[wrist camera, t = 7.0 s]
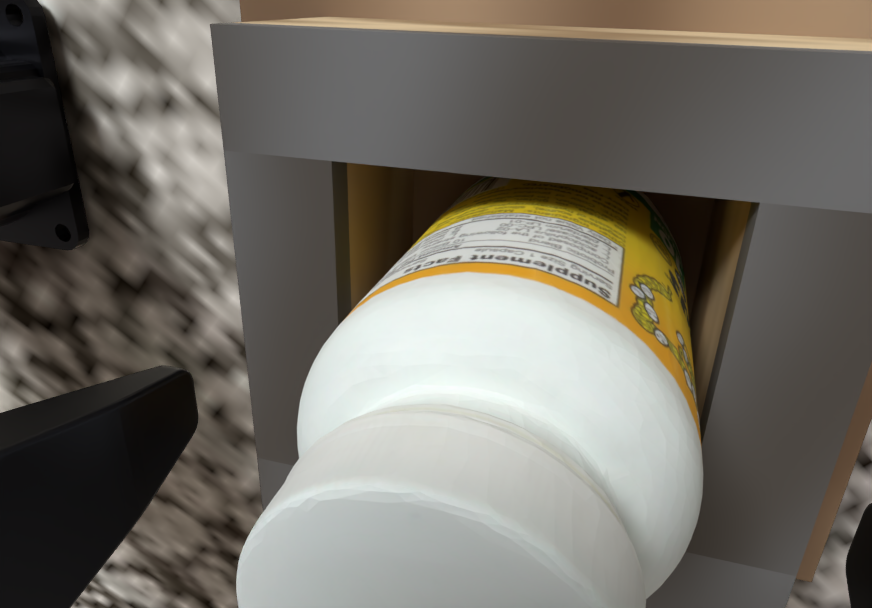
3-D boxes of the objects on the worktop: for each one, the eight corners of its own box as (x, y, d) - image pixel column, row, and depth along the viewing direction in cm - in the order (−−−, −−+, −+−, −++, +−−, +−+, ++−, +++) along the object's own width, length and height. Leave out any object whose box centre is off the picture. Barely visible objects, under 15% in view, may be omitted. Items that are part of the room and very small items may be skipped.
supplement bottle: (450, 133, 14) (145, 340, 6) (718, 178, 13) (834, 525, 4) (426, 353, 16) (187, 727, 8) (648, 408, 15) (641, 912, 7)
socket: (294, 448, 20) (195, 575, 16) (251, -92, 14) (72, -131, 10) (804, 557, 17) (860, 757, 12) (1034, -93, 11) (1301, -155, 6)
